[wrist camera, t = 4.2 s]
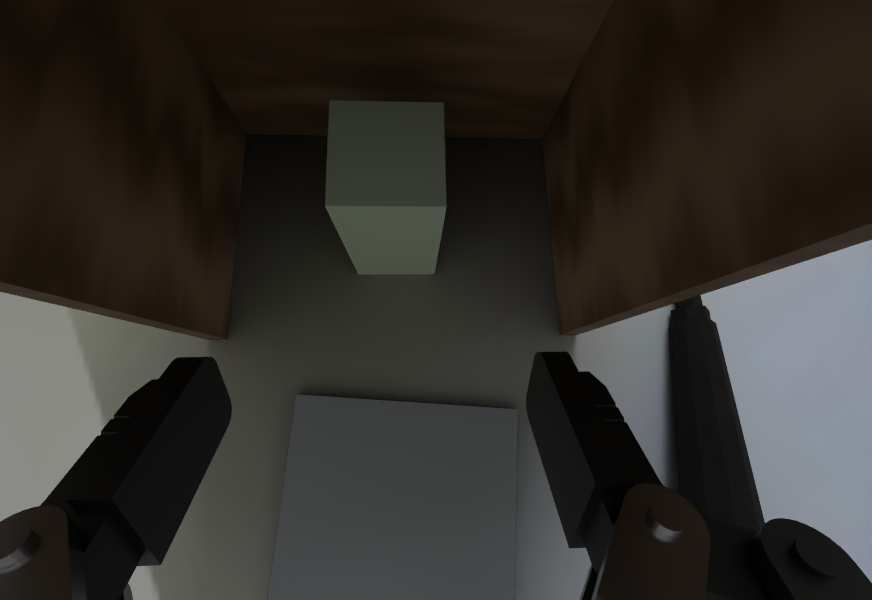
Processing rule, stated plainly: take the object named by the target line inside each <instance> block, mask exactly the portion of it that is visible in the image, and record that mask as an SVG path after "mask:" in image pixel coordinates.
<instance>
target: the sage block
mask: <svg viewBox="0 0 872 600" xmlns="http://www.w3.org/2000/svg"><path fill="white" fill-rule="evenodd" d="M325 207H326V209H327V211H328V213H329V215H330V218H331V220H332V222H333V224H334V226H335V228H336V230H337V232H338V234H339V236H340V238H341V240H342V242H343V244H344V246H345V248H346V250H347V252H348V254H349V256H350V258H351V260H352V262H353V264H354V266H355V268H356V270H357V273H358V275H393V274H435V269H436V263H437V258H438V252H439V246H440V241H441V235H442V230H443V224H444V219H445V213H446V208H447V201H446V166H445V132H444V103H438V102H389V101H341V100H329V123H328V146H327V169H326V191H325Z"/></svg>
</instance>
